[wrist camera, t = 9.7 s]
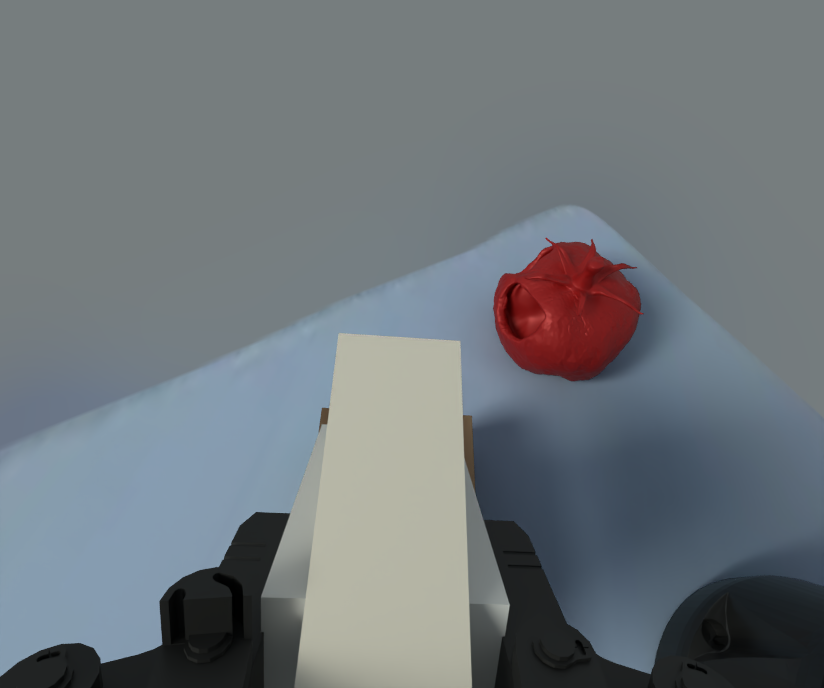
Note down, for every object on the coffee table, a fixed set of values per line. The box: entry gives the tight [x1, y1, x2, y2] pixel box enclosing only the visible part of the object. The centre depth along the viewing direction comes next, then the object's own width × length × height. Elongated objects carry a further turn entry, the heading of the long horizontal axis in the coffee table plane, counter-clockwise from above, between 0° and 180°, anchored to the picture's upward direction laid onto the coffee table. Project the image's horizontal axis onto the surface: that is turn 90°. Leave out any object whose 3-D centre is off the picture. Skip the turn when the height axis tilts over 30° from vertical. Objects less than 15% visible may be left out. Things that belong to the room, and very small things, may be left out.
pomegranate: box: [493, 238, 644, 381], centre depth 32 cm, size 10×10×9 cm
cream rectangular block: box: [294, 333, 472, 688], centre depth 12 cm, size 2×10×11 cm, turn 179°
